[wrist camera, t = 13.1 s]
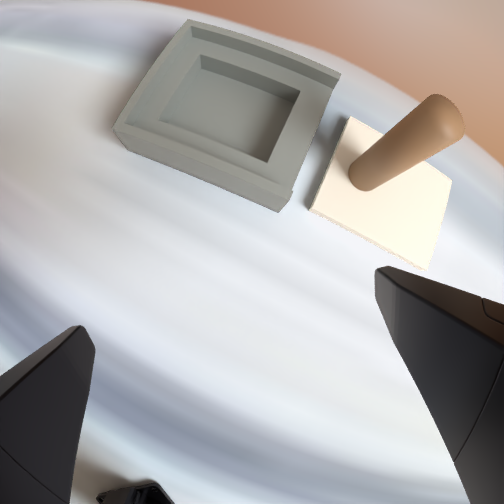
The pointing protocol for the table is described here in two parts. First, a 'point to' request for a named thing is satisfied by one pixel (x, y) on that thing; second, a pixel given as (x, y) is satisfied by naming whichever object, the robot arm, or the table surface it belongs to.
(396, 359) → the table surface
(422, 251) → the cover plate
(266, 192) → the box
